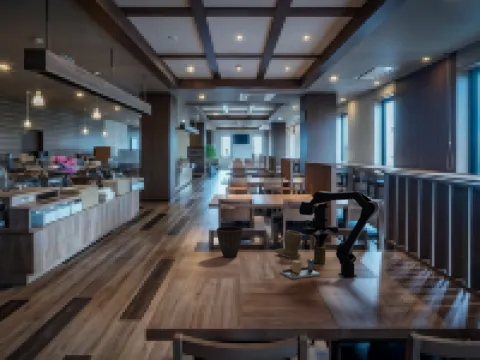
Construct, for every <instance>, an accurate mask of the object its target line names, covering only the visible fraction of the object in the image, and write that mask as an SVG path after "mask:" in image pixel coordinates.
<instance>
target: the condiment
mask: <svg viewBox="0 0 480 360" xmlns="http://www.w3.org/2000/svg"><path fill="white" fill-rule="evenodd" d="M326 248H327V247H326V242H325V241H324V242H323V244H322V246H321V248H319V247H318V244H317V241H316V240H315V241H314V246H313V260H314V262H313V266H319V267H321V266H323V265H324V266H325V265H327V264H329V262H326V251H327V249H326Z"/></svg>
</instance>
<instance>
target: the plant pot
mask: <svg viewBox="0 0 480 360" xmlns="http://www.w3.org/2000/svg"><path fill="white" fill-rule="evenodd" d="M216 234H217V235H216V236H217V240H218V245H219V248H220V250H221V253H222V256H223V258H227V259H232V258H236V257H237V256H238V253H239V249H240V246H241V242H242V237H243V228H242V227H238V226H223V227H221V226H220V227H218V228H216Z"/></svg>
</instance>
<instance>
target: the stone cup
mask: <svg viewBox="0 0 480 360" xmlns="http://www.w3.org/2000/svg"><path fill="white" fill-rule="evenodd" d="M283 240H284V246H285V247H284V248H283V247H282V248H276V249H275V250H274V253H277V254H279V255H281V256H283V257H286V258H290V259H297V258H300V257H301V254H300V253H299V247H300V245H301V244H302V243H301V242H302V240H303V234H302V233H301V231H300V232H299V231H296V230H291V229H287V230H286V231H285V233H284V239H283Z"/></svg>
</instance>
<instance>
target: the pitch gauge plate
mask: <svg viewBox="0 0 480 360" xmlns="http://www.w3.org/2000/svg"><path fill="white" fill-rule="evenodd" d="M306 261H307V266H301V272H300V273H296V272H294V271H292V268H285V269H281V270H280V271H279V273H280V274H281V275H283V276H284V277H287V278H288V279H290V280H296V279H301V278H310V277H317V276H318V277H319V276H321V273H320V272H318V271H316V270H314V265H313V262H314V258H313V259H312V258H309V259H307V260H306Z"/></svg>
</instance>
